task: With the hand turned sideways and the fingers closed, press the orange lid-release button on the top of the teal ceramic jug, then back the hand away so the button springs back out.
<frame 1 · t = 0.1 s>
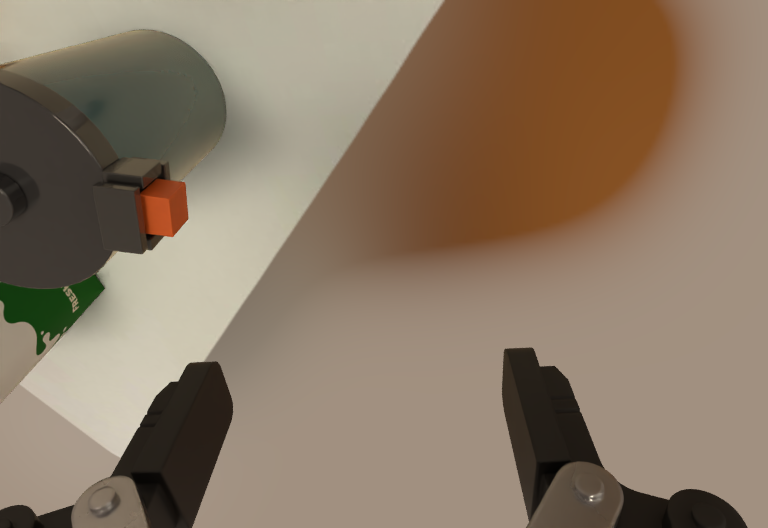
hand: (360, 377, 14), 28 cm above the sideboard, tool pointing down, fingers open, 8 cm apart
jug: (160, 101, 38), on the sideboard
lid button: (164, 207, 24), point 17 cm above the sideboard, slide at 0.1 cm
milk carton: (52, 266, 46), on the sideboard
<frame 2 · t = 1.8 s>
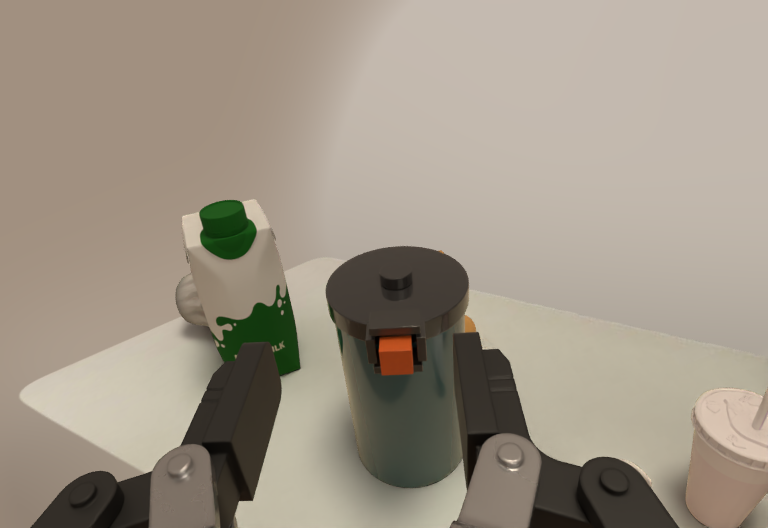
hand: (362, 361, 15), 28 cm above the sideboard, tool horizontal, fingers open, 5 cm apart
jug: (410, 439, 46), on the sideboard
smoothie: (712, 509, 38), on the sideboard
cupcake: (191, 299, 63), point 3 cm above the sideboard
lid button: (396, 355, 31), point 17 cm above the sideboard, slide at 0.1 cm
milk carton: (264, 360, 57), on the sideboard
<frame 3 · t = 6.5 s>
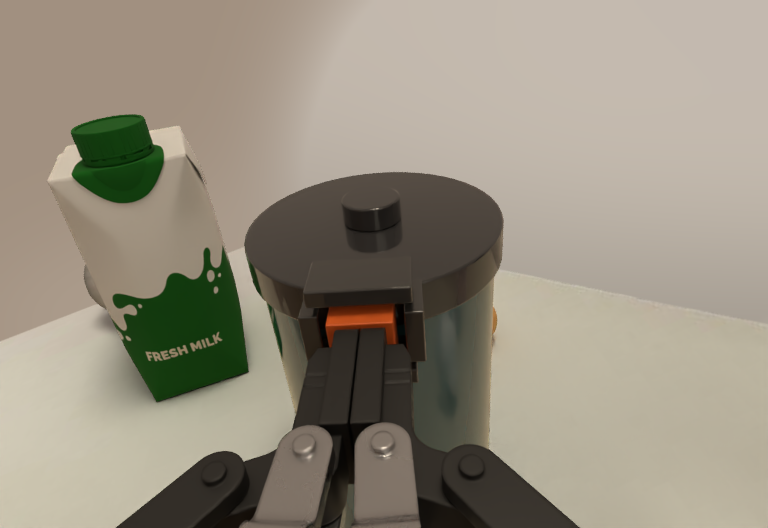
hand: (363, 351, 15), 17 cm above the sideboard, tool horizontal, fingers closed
jug: (402, 482, 30), on the sideboard
cupcake: (111, 278, 47), point 3 cm above the sideboard
lid button: (364, 335, 16), point 17 cm above the sideboard, slide at -0.6 cm, touching gripper
milk carton: (201, 360, 41), on the sideboard
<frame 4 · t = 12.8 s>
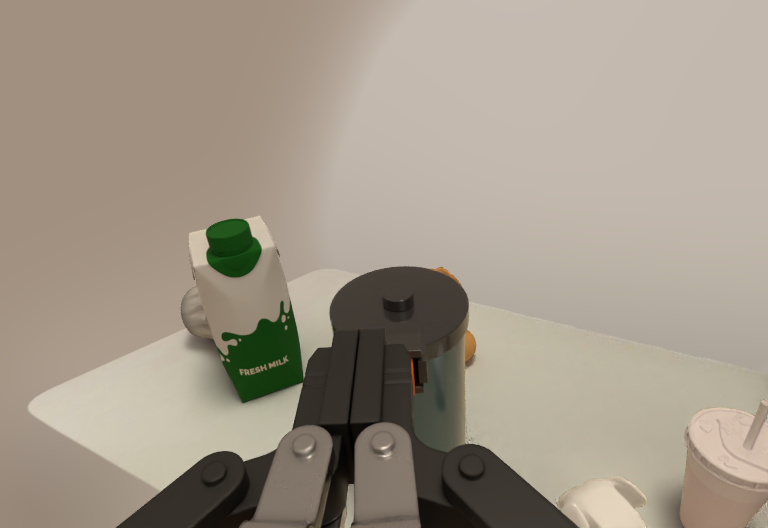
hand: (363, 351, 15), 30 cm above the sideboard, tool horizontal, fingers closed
jug: (412, 453, 47), on the sideboard
figurine: (450, 357, 58), on the sideboard
smoothie: (705, 524, 39), on the sideboard
cupcake: (196, 312, 64), point 3 cm above the sideboard
lid button: (398, 377, 32), point 17 cm above the sideboard, slide at 0.1 cm
milk carton: (268, 373, 59), on the sideboard
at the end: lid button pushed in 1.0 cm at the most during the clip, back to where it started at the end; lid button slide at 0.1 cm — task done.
